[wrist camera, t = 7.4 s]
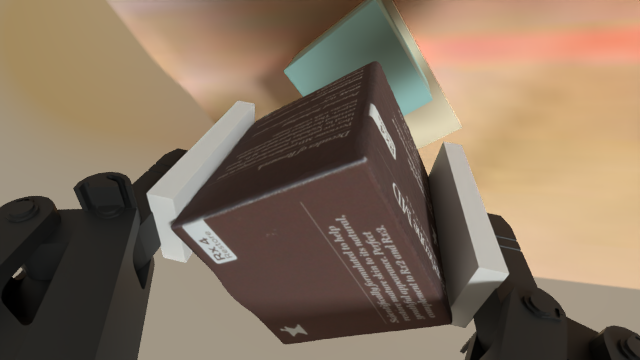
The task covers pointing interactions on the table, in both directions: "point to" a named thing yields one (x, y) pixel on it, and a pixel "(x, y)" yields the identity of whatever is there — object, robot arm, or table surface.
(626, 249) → the table surface
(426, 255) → the box
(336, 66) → the teal and cream block
